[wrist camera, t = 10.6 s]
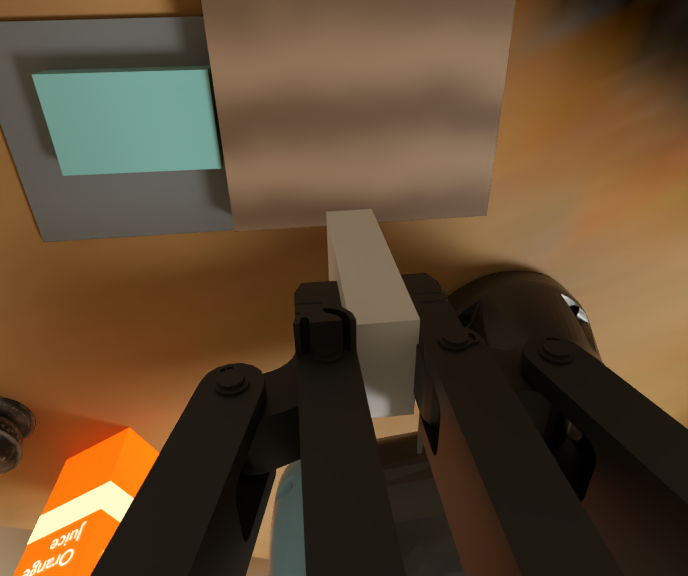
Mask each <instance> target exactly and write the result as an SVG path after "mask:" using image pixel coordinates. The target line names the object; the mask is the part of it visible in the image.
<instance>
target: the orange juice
mask: <svg viewBox="0 0 688 576" xmlns="http://www.w3.org/2000/svg"><path fill="white" fill-rule="evenodd" d="M159 454H160V453H159V452H157V451H156V450H155V449H154V448H153V447H152V446H150V445H149V444H148V443H147V442H146V441H145V440H143V439H142V438H141V437H140V436H139V435H138V434H136V433H135V432H134V431H133V430H132V429H131V428H127V429H125V430H123V431H122V432H120V433H118V434H116V435H114V436H112V437H110V438H108V439H106V440H104V441H102V442H100V443H98V444H96V445H94V446H93V447H91V448H89V449H87V450H85V451H83V452H81V453H79V454H77V455H75V456H73V457H71V458H69V459H67V460H66V463H65V465H64V467H63V469H62V471H61V473H60V476H59V478H58V480H57V482H56V484H55V486H54V489H53V491H52V493H51V495H50V497H49V499H48V502H47V504H46V506H45V508H44V510H43V513H42V515H41V516H40V517H39V520H38V522H37V524H36V526H35V528H34V530H33V533H32V535H31V537H30V539H29V541H28V543H27V544H28V545H27V547H26V549H25V552H24V554H23V556H22V558H21V560H20V562H19V565H18V567H17V569H16V571H15V573H14V576H90V575H91V573H92V571H93V570H94V568H95V566H96V564H97V562H98V561H99V559H100V557H101V555H102V554H103V552H104V550H105V548H106V547H107V545H108V543H109V541H110V540H111V538H112V536H113V534H114V533H115V531H116V529H117V527H118V526H119V524H120V522H121V520H122V519H123V517H124V515H125V513H126V512H127V510H128V508H129V506H130V504H131V503H132V501H133V499H134V497H135V496H136V494H137V492H138V490H139V489H140V487H141V485H142V483H143V482H144V480H145V478H146V476H147V475H148V473H149V471H150V469H151V468H152V466H153V464H154V462H155V461H156V459H157V457H158V455H159Z"/></svg>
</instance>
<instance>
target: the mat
mask: <svg viewBox="0 0 688 576" xmlns="http://www.w3.org/2000/svg"><path fill="white" fill-rule="evenodd" d="M175 66H210V59H209V52H208V45H207V38H206V31H205V24H204V18H203V16H191V17H154V18H117V19H80V20H43V21H5V22H0V124H1V127H2V129H3V132H4V135H5V138H6V140H7V143H8V146H9V149H10V151H11V154H12V157H13V160H14V162H15V165H16V168H17V171H18V173H19V176H20V179H21V182H22V184H23V187H24V190H25V192H26V195H27V198H28V201H29V203H30V206H31V209H32V212H33V214H34V217H35V220H36V223H37V225H38V228H39V231H40V234H41V236H42V239H43V242H52V241H68V240H84V239H99V238H115V237H131V236H147V235H163V234H179V233H195V232H210V231H226V230H234V224H233V217H232V210H231V203H230V196H229V189H228V182H227V176H226V169H225V162H224V163H223V166H222V169H200V170H178V171H157V172H135V173H113V174H91V175H69V176H63V174H62V171H61V168H60V164H59V161H58V158H57V155H56V152H55V148H54V145H53V142H52V139H51V136H50V132H49V129H48V126H47V123H46V119H45V116H44V113H43V110H42V107H41V103H40V100H39V97H38V94H37V91H36V87H35V84H34V81H33V78H32V74H35V73H38V72H41V71H44V70H67V69H103V68H139V67H175Z"/></svg>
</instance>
